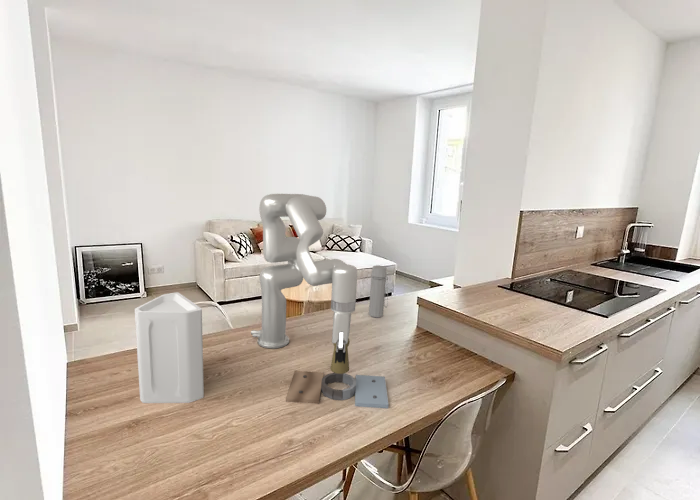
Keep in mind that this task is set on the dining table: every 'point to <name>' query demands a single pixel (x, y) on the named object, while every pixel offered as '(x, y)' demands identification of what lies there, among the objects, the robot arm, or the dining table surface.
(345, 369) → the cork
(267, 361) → the dining table surface
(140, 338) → the white triangular canister
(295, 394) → the leaf
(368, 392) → the leaf
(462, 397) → the dining table surface
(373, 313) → the water bottle
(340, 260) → the robot arm
